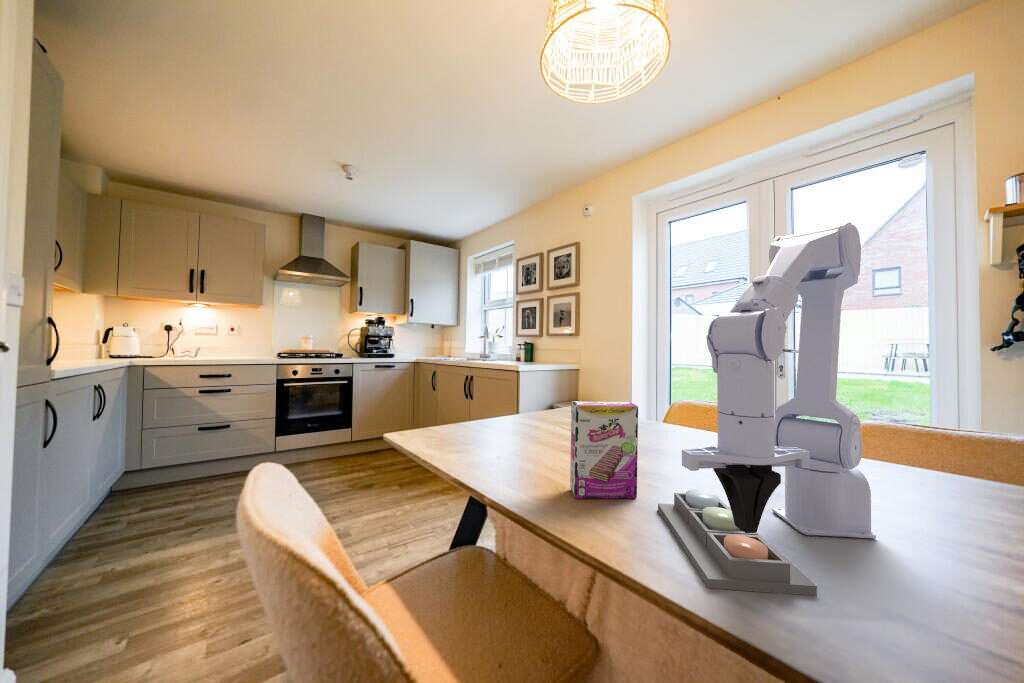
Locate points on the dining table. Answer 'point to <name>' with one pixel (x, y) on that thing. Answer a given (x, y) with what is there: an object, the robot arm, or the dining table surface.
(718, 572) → the button panel
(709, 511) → the sage button
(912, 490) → the dining table surface
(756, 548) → the terracotta button
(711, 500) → the pale blue button
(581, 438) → the candy bar box
